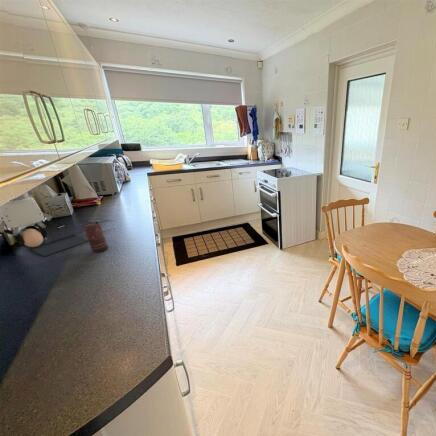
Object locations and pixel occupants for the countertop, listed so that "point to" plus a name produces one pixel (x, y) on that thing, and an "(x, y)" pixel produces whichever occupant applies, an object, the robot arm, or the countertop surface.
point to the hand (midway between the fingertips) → (32, 239)
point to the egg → (32, 237)
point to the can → (95, 237)
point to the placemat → (58, 245)
